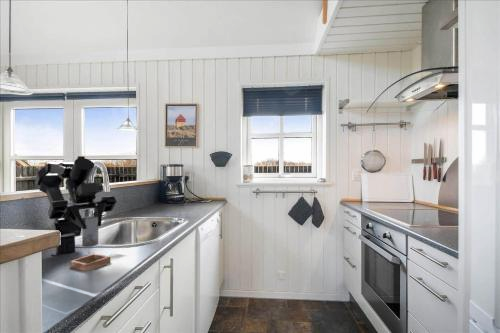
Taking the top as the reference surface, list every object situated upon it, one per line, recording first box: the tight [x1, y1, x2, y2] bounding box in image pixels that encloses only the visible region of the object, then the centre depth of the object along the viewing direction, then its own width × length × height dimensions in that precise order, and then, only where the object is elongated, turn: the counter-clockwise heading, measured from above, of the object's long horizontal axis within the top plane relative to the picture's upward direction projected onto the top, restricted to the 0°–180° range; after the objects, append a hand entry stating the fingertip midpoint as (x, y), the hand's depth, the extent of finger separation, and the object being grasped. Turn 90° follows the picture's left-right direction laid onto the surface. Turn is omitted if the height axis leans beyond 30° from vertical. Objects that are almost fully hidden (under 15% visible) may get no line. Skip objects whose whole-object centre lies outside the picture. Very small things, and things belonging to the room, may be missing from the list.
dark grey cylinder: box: [81, 215, 99, 248], centre depth 83 cm, size 4×4×9 cm
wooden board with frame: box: [69, 253, 126, 272], centre depth 86 cm, size 12×16×3 cm
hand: (92, 226), depth 83 cm, fingers closed on dark grey cylinder, 4 cm apart
